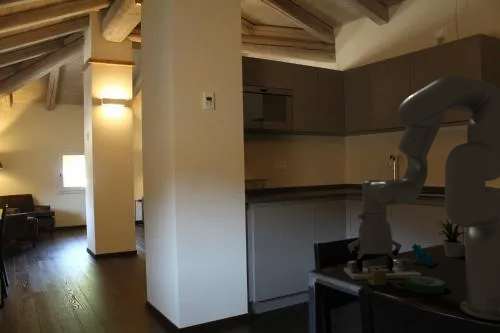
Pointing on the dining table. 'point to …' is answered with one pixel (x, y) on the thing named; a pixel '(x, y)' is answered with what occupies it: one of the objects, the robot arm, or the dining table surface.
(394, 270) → the mounting base plate
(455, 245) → the house plant
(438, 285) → the tape roll
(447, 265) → the dining table surface
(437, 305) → the dining table surface
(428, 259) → the dark teal lobed piece
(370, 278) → the tan box with knob
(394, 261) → the shaft right
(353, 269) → the shaft left
